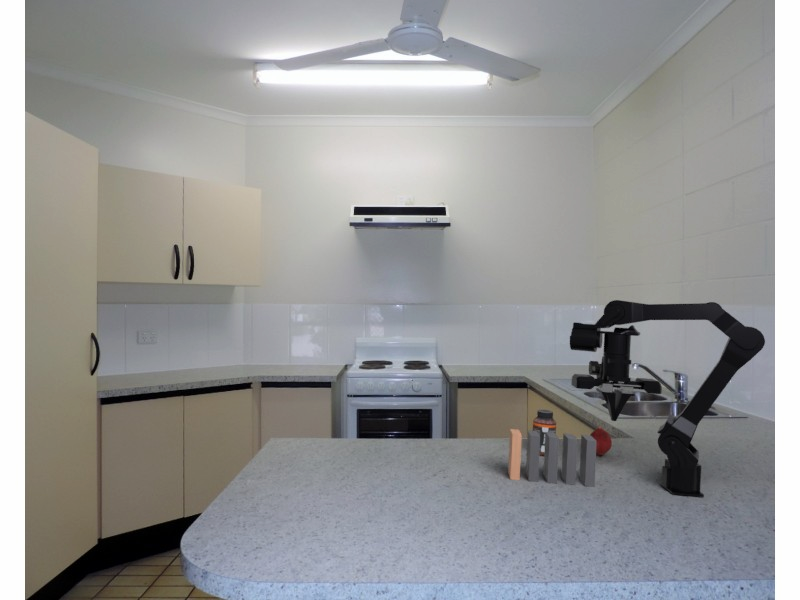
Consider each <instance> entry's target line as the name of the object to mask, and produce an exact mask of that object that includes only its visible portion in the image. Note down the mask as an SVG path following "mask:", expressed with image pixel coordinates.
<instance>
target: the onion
mask: <svg viewBox="0 0 800 600" xmlns="http://www.w3.org/2000/svg"><path fill="white" fill-rule="evenodd" d="M589 435H591V436H592V437H593V438H594V439H595V440H596V441H597V443H596V456H598V455H602V456H603V455H605V454H606V453H608V452H609V451H610V450H611V448H612V446H613V445H612V444H613V442H612V437H611V435H610V434H609V433H608V432H607V431H606V430H605V429H604V428H603V426H602V425H599V426H598V428H597V429H595V430H593V431H592V432H591V433H590V434H589Z"/></svg>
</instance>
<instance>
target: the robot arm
mask: <svg viewBox="0 0 800 600" xmlns="http://www.w3.org/2000/svg"><path fill="white" fill-rule="evenodd" d="M646 321H647V322H648V321H708V322H710V323H711V324H712V325H713V326H715V327H716V328H717V329H718V330H720V331H721V333H723V334H724V335H725V336H727V341H726V344H725V346H724V348H723V350H722V352H721V354H720V355H721V356H720V357H719V360H718V361H717V362H716V364H715V365H714V367H713V368H712V370H711V371H710V373H709V374H708V375H707V376H706V378H705V379H704V381H703V382H702V384H701V385H700V386H699V388H698V389H697V390H696V392H695V393H694V395H693V396H692V398H691V399H690V401H688V403H687V405H686V406H685V407H684V408H683V410H682V411H681V412H680V413H679V414H677V415H676V416H674V415H673V414H672V413H669V414H668V416H667V418H666V421H665V422H664V423H663V424H661V425H660V426H659V428H658V430H657V434H659V435H658V438H657V445H658V448H659V450H660V451H661V452H662V453H663V454H664V455H666V458H665V459H664V465H663V466H662V467H661V470H662V471H661V481H660V485H661V486H662V487H663V488H664V489H665V490H666V491H668V492H669V493H670V494H672V495H678V496H689V497H698V498H699V497H700V498H703V497H705V493H703V492H702V491H701V481H702V465H701V464H699V457H700V455H699V454H700V452H699V450H698V449H697V448H696V447H695V446H694V444H692V441H693V437H694V436H695V433H696V430H697V428H698V425H699V423H700V422H701V421H702V420H703V418H704V417H705V415H706V414H707V413H708V411H709V410H710V409H711V407H712V406H713V405H714V403H715V402H716V401H717V399H718V398H719V396H721V393H722V392H723V390H725V388H726V387H727V385H728V384H729V382H730V381H731V380H732V379H733V377H734V376H735V375H736V374H737V372H738V371H739V370H740V369H741V368H742V367H743V366H745V365H746V364H747V363H748V362H749V361H751V360H752V359H753V358H754V357H755V356H756V355H758V353H760V352H761V351H762V350H763V349H764V346H765V344H766V339H765V336H764V334H763V333H762V331H760V330H759V329H757V328H756V327H753V326H747V325H744V324H743V323H742V322H741V321H740V320H738V319H737V318H736V317H734V316H732V315H731V314H730V313H729V312H727V311H726V310H725V309H724V308H723V307H722V306H721V305H720V303H717V302H714V301H709V302H705V303H704V302H703V303H698V302H697V303H664V304H663V303H657V304H654V303H653V304H652V303H651V304H649V303H641V302H635V301H627V300H626V301H625V300H619V299H615V300H611V301H609V302H608V303H606V305H605V306H604V308H603V315H602V316H601V317H600V318H599V319H598V320H597V321H596V322H595V324H592V323H582V322H573V323H572V329H571V332H570V335H569V349H570V350H571V351H580V352H593V353H596V352H597V350H598V349H601V348H602V347H603V353H602V354H603V356H601V361H600V362H601V363H600V362H599V361H598V360H590V361H589V362H588V374H586V373H585V374H580V373H574V374H573V375H572V376H571V386H572V387H574V388H576V389H579V390H580V389H581V390H592V389H594V387H596V388H595V391H597V392H598V393H600V394H601V395H602V396H603V399H604V401H605V404H606V406H607V407H606V408H607V410H608V413H609V418H610V421H612V422H617V421H618V419H619V416H620V414H621V412H622V410H623V409H624V407H625V405H626V404H627V403H628V401H629V400H630V399H631V397H635V396H636V393H634V392H633V391H634V390H642V391H645V392H646V393H647V394H652V395H661V394H662V388H663V387H662V383H661V382H660V381H659V380H656V379H653V378H643V377H636V378H635V380H631V377H630V365H632V359H631V344H632V343H631V342H632V341H631V340H632V339H631V338H632V336H636V337H639V336H640V335H641V332H639V331H638V330H637V329H636V328H635V325H630V324H634V323H635V324H636V323H641V322H646ZM621 325H623V326H625V325H630V326H629V327H618V326H621ZM614 326H617V327H614ZM612 327H614V329H613V331H608V330H607V331H605V330H602V329H610V328H612ZM603 337H604V338H603ZM594 376H596V378H595V377H594ZM616 388H617V389H616Z"/></svg>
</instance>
